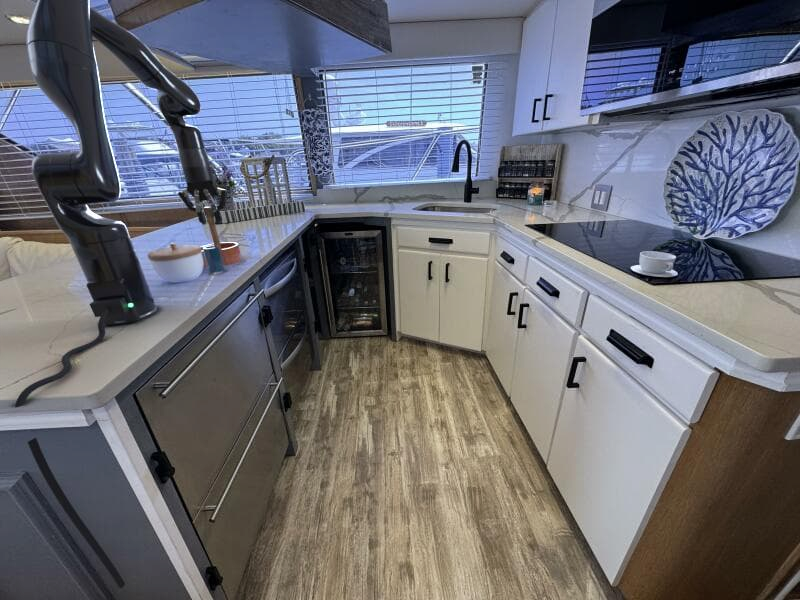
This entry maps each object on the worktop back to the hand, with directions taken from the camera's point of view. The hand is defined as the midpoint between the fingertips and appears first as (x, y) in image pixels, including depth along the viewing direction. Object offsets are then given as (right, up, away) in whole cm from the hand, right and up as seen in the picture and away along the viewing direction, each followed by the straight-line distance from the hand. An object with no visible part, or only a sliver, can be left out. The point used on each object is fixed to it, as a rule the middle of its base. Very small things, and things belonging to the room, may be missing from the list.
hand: (211, 223), depth 103 cm
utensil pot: (+4, -16, -3) cm, 17 cm away
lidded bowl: (-2, -19, -10) cm, 22 cm away
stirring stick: (0, -12, +5) cm, 13 cm away
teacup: (+127, -18, -19) cm, 130 cm away
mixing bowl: (0, -12, +5) cm, 14 cm away
